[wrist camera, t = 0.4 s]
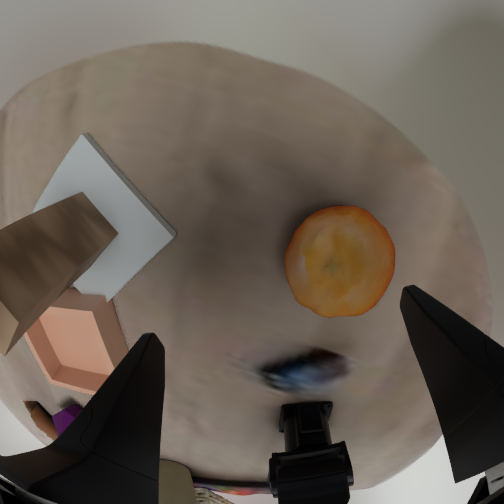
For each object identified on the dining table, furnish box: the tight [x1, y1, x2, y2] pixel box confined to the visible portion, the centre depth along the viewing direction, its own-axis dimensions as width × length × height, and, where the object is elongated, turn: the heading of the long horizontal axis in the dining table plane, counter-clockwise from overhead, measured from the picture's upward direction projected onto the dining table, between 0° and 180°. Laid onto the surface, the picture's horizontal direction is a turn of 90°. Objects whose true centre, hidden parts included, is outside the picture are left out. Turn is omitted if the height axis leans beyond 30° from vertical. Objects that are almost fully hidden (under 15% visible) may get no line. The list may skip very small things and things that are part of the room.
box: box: [24, 288, 129, 395], centre depth 26 cm, size 13×13×4 cm
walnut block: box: [0, 192, 119, 356], centre depth 16 cm, size 5×5×13 cm
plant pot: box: [159, 460, 197, 504], centre depth 34 cm, size 15×15×16 cm
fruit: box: [284, 206, 395, 318], centre depth 20 cm, size 8×8×8 cm
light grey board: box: [32, 133, 177, 303], centre depth 22 cm, size 12×12×1 cm
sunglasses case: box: [23, 401, 58, 441], centre depth 39 cm, size 18×7×7 cm
